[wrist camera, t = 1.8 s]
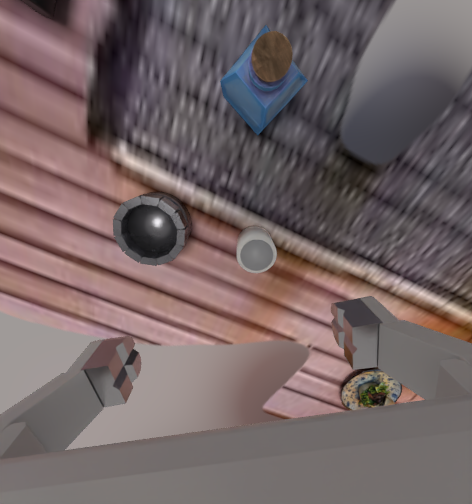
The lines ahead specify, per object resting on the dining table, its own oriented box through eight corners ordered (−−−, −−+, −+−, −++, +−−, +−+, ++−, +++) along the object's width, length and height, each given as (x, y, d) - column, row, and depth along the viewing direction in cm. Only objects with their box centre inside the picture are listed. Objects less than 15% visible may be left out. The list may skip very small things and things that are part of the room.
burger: (373, 353, 44) (398, 389, 37) (408, 383, 47) (438, 422, 40) (324, 387, 48) (339, 426, 41) (360, 413, 51) (380, 454, 44)
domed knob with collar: (174, 181, 33) (164, 185, 28) (201, 239, 36) (196, 251, 31) (118, 205, 34) (99, 212, 30) (148, 259, 37) (136, 273, 33)
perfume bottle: (223, 96, 29) (215, 57, 18) (259, 53, 28) (275, -20, 17) (257, 135, 31) (269, 121, 20) (294, 96, 29) (328, 56, 18)
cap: (265, 220, 35) (269, 230, 30) (276, 252, 37) (282, 266, 32) (231, 233, 36) (230, 244, 31) (243, 263, 38) (244, 279, 33)
